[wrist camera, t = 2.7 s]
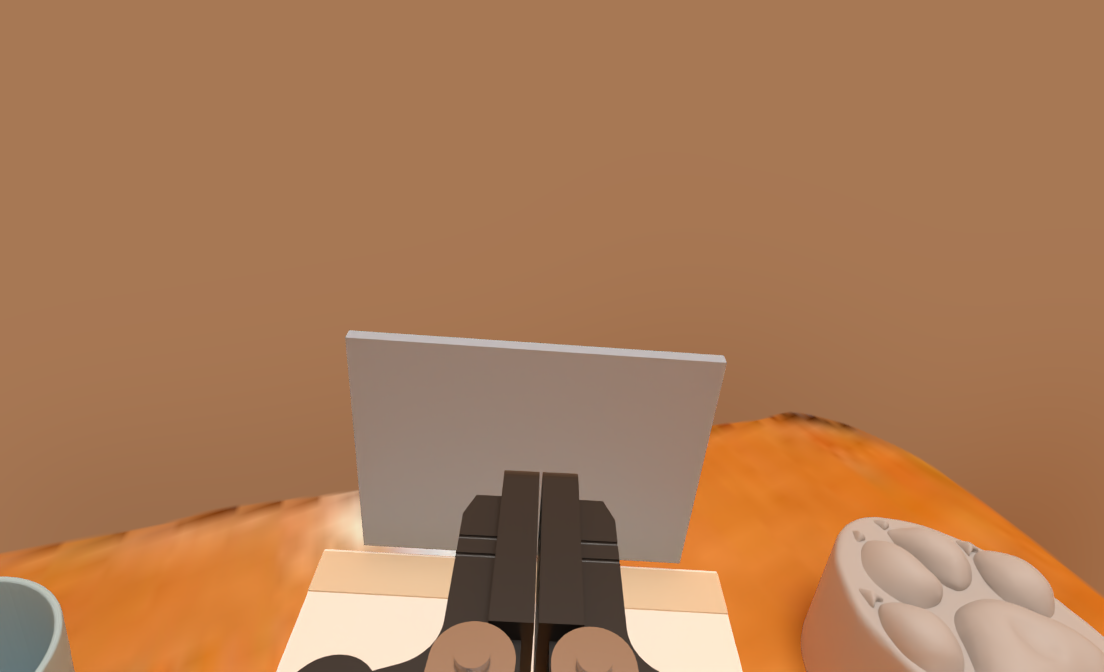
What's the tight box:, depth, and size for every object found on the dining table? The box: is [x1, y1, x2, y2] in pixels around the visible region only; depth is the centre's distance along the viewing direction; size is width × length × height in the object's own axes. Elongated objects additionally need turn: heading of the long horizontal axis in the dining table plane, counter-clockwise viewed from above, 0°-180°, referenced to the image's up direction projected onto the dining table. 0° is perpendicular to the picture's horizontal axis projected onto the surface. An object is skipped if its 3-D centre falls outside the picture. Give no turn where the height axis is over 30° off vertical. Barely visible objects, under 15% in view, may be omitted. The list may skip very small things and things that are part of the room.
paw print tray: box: [801, 517, 1104, 672], centre depth 33 cm, size 10×13×9 cm
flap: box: [346, 331, 727, 563], centre depth 31 cm, size 16×1×12 cm, turn 90°
